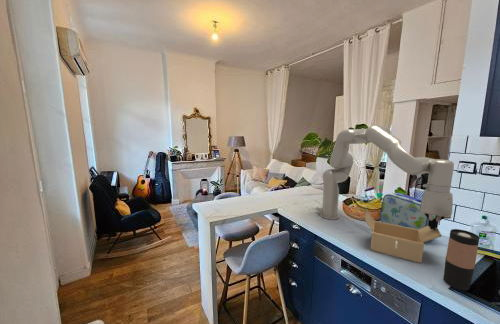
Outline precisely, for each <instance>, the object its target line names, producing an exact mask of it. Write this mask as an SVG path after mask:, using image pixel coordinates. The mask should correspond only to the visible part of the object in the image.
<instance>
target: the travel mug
mask: <svg viewBox="0 0 500 324" xmlns="http://www.w3.org/2000/svg"><path fill="white" fill-rule="evenodd" d="M479 243H480V236H479V235H478V234H475V233H474V232H471V231H468V230H465V229H458V228H452V229H451V230H450V233H449V238H448V242H447V249H446V255H445V263H444V269H443V282H444V283H445V284H447V285H448V286H450V287H452V288H453V289H457V290H460V291H469V290H470V288H471V283H472V280H473V275H474V271H475V266H476V261H477V260H476V259H477V255H478V249H479Z"/></svg>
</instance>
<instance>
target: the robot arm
mask: <svg viewBox="0 0 500 324" xmlns="http://www.w3.org/2000/svg"><path fill="white" fill-rule="evenodd" d="M391 132H392V131H391V129H390V128H389V127H388V126H386V125H381V124H375V125H369V127H367V128H347V129H343V130H342V131H340V132H339V133H338V134H337V136H336V139H335V143H334V147H333V150H332V152H331V156H330V158H329V166H330V167H331V168H329V169H326V170H325V171H324V172H323V173H322V182H323V193H322V207H318V206H316V207H315V211H316V212H319V216H320V217H321V218H324V219H326V220H332V221H333V220H339V219H340V218H341V216H340V214H339V212H338V211H339V197H340V188H339V184H338V183H343V182H346V181H347V180H348V178H349V176H350V173H351V171H352V168H353V164H354V158H353V157H354V156H353V155H352V154H351V153H349V151H350V145H358V144H360V145H361V144H370V143H372V144H373V145H374V146H376V147H377V148H379V149H380V150H382V152H384V153H385V154H386V156H387V157H388V159H389V160H390V161H391V162H392V164H394V165H395V166H396V167H398V169H400V170H402V171H403V172H405V173H406V174H408V175H411V176H417V175H422V174H423V175H425V174H428V176H427V177H428V178H427V183H424V184H423V185H422V188H424V190H423V192H422V197H421V199H420V200H421V204H420V210H419V213H420V214H423V215H425V216H426V217H427V218H428V219H429V221H428V226H429V227H430V229H433V230H435V229H436V228H438V226H439V222H440V221H441V220H445V219H447V220H449V219H452V214H453V205H454V202H453V200H454V196H453V193H452V192H451V186H452V181H453V175H454V168H455V163H454V161H452V160H449V159H448V160H447V159H439V158H438V159H437V158H436V159H435V158H431V157H426V156H418V157H415V156H413V155H412V154H410V153H409V152H407V151H406V150H405V149H404V148H403V146H402V140H400V138H398V137H396V136H395V135H393V134H392V133H391ZM432 215H436V216H435V218H434V219H433V217H432Z"/></svg>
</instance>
